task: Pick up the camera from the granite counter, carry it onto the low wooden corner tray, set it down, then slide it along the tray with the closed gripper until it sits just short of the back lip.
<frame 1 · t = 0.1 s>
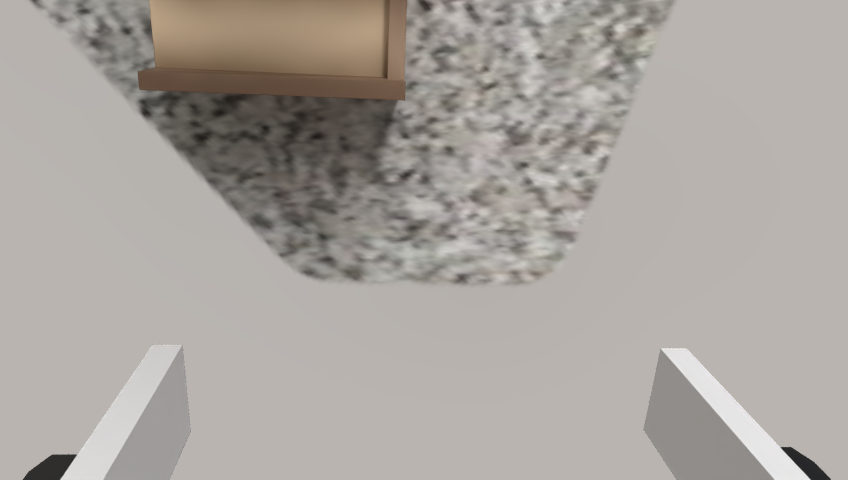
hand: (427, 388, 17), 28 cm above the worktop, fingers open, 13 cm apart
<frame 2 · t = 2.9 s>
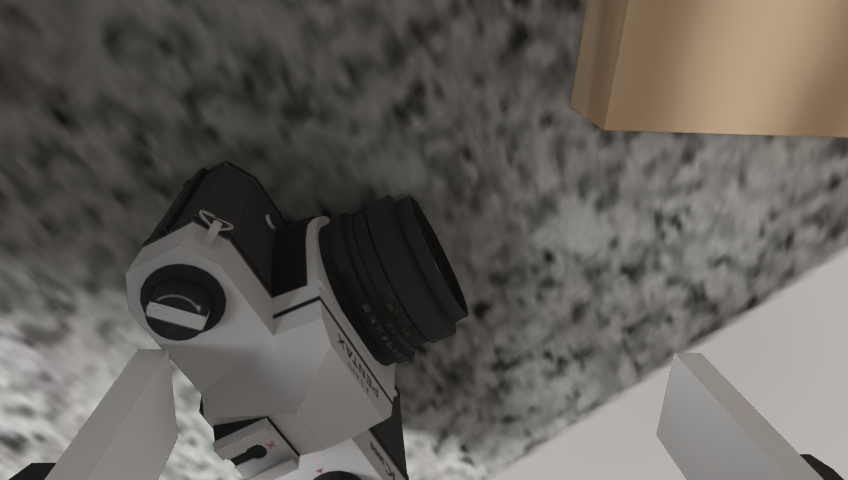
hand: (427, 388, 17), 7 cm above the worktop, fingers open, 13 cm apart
camera: (348, 275, 23), on the worktop, touching gripper
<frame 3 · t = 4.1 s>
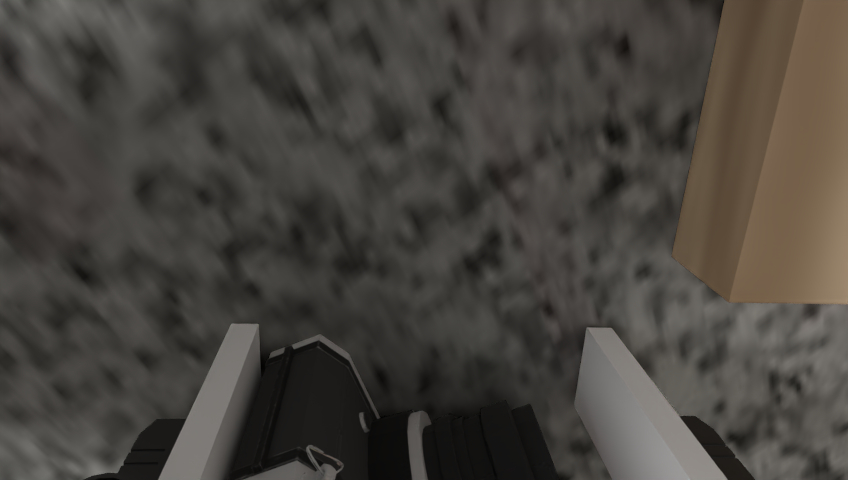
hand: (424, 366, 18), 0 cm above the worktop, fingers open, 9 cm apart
camera: (430, 470, 20), on the worktop, touching gripper
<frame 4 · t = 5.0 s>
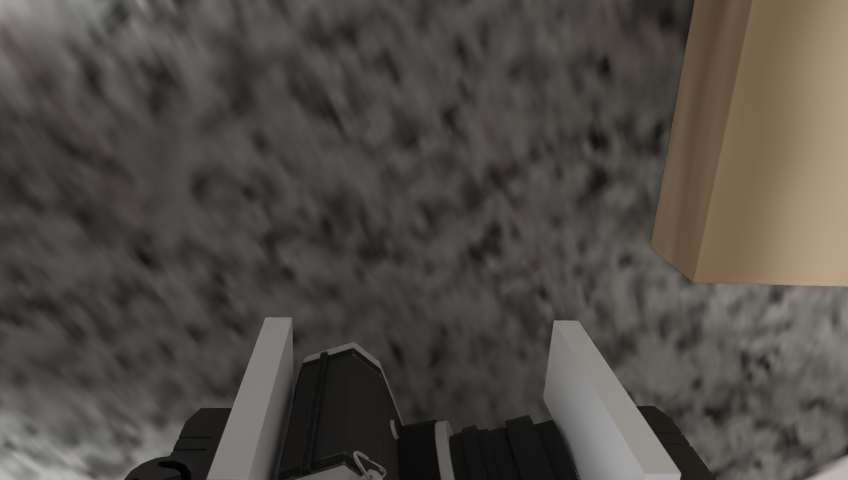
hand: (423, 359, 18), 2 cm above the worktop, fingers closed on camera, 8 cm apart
camera: (447, 477, 20), point 2 cm above the worktop, touching gripper
when the fingers open (4 cm above the worktop, at t = 9.6 s): camera stays where it is, resting on wooden corner tray.
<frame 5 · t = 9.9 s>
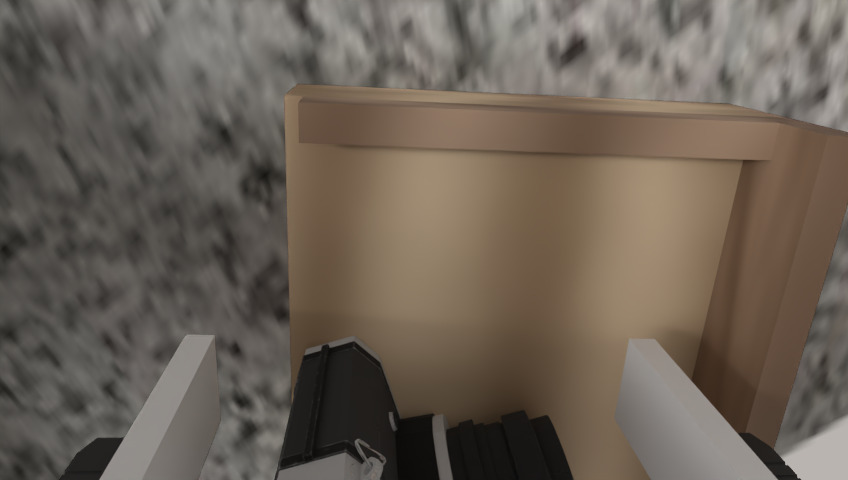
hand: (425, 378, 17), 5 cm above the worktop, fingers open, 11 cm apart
wooden corner tray: (498, 306, 22), on the worktop
camera: (442, 471, 21), point 3 cm above the worktop, touching wooden corner tray
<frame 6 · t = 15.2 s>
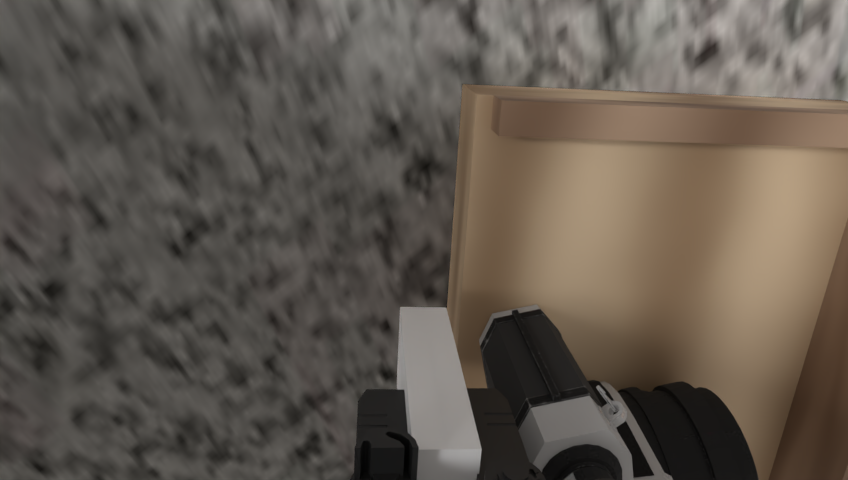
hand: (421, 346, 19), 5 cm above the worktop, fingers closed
wooden corner tray: (623, 285, 24), on the worktop
camera: (584, 435, 23), point 3 cm above the worktop, touching gripper, wooden corner tray
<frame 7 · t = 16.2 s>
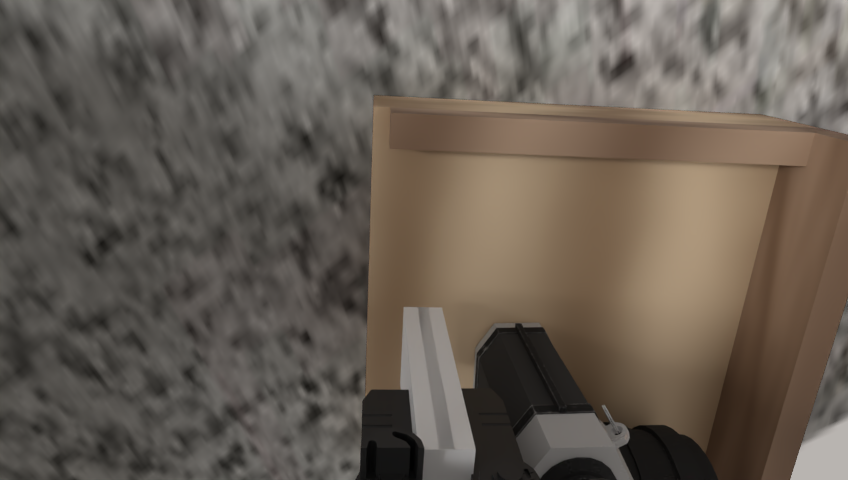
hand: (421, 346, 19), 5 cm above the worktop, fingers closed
wooden corner tray: (547, 299, 24), on the worktop
camera: (553, 464, 23), point 3 cm above the worktop, touching gripper, wooden corner tray
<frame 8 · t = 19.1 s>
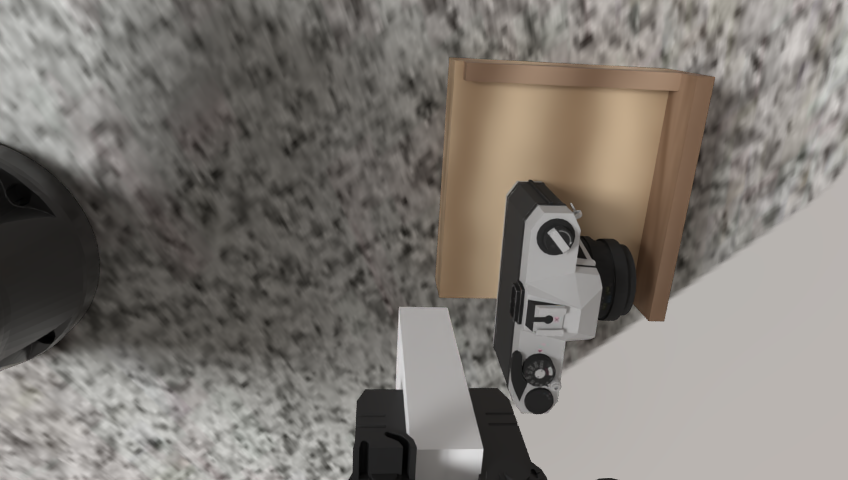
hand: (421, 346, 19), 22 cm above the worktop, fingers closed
wooden corner tray: (545, 178, 41), on the worktop
camera: (548, 269, 40), point 3 cm above the worktop, touching wooden corner tray
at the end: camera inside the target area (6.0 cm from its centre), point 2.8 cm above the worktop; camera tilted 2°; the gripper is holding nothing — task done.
